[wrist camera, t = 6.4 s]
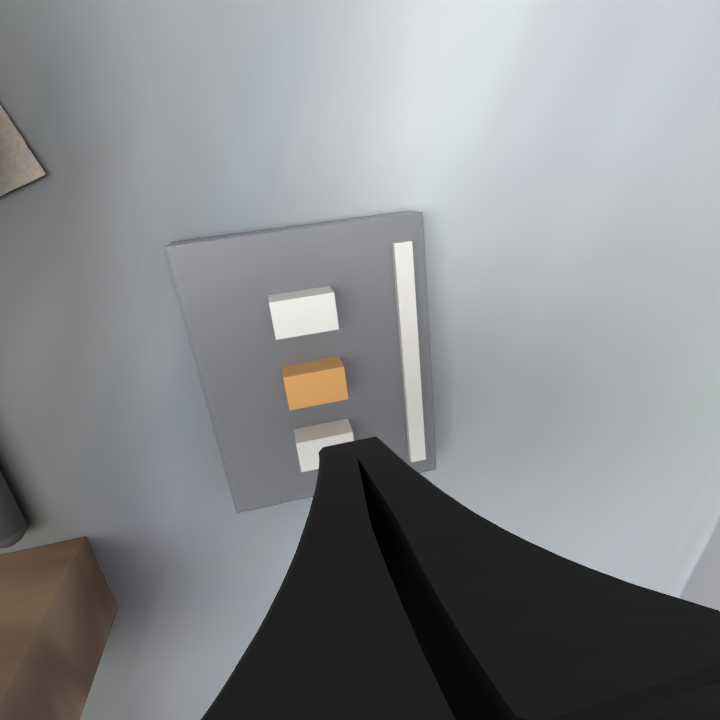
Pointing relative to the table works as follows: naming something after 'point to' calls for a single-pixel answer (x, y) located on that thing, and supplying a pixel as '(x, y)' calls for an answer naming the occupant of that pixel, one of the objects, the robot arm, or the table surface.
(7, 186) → the condiment
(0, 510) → the dark gray rod
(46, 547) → the walnut block
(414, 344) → the panel
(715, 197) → the table surface
